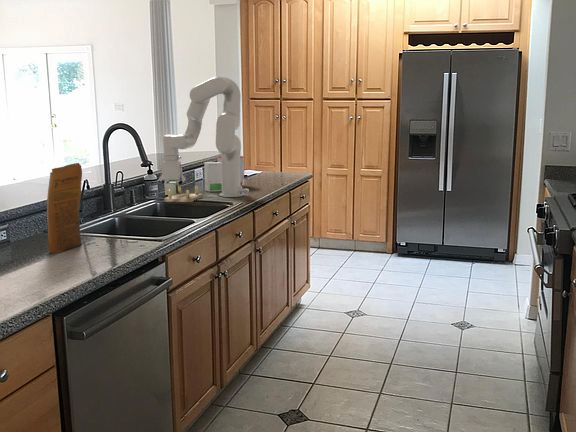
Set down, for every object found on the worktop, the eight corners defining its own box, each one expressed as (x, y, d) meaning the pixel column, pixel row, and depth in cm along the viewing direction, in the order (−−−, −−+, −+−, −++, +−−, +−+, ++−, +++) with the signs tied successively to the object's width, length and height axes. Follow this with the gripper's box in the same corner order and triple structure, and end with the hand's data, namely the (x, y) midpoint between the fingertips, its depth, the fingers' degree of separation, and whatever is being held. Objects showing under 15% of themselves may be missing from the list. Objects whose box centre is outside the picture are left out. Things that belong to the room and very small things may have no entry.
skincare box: (208, 192, 334) (208, 163, 331) (204, 190, 339) (203, 162, 336) (223, 190, 338) (222, 162, 335) (218, 189, 343) (217, 161, 340)
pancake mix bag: (93, 242, 216) (88, 162, 211) (57, 255, 198) (51, 168, 193) (77, 241, 218) (71, 161, 213) (40, 254, 200) (33, 167, 195)
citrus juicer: (247, 184, 365) (247, 149, 361) (242, 188, 348) (241, 152, 344) (221, 183, 366) (220, 149, 363) (215, 187, 349) (214, 152, 346)
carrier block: (180, 192, 331) (179, 181, 330) (174, 195, 322) (173, 184, 320) (171, 192, 332) (170, 181, 331) (165, 195, 322) (164, 184, 321)
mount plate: (202, 196, 318) (201, 186, 317) (191, 202, 301) (191, 190, 300) (176, 196, 320) (175, 185, 319) (164, 201, 303) (163, 190, 302)
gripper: (189, 158, 326) (190, 192, 329) (158, 157, 328) (159, 191, 332) (184, 159, 318) (186, 194, 322) (153, 159, 321) (154, 193, 324)
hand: (172, 192), depth 327 cm, fingers closed on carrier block, 5 cm apart
